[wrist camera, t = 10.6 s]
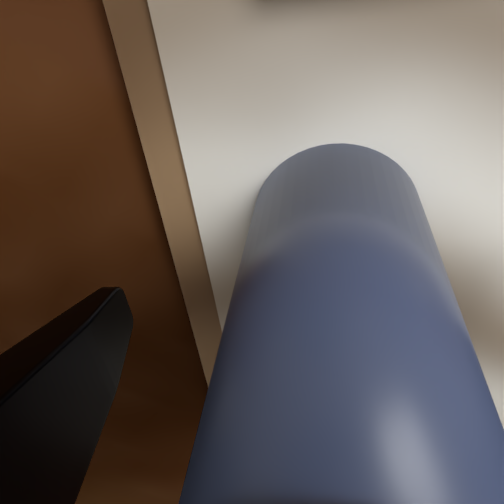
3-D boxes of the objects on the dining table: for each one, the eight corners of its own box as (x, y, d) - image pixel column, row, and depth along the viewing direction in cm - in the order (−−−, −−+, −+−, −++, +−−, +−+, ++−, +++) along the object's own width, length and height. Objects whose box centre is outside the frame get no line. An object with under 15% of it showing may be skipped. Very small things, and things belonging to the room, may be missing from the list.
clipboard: (632, 499, 17) (657, 546, 16) (238, 478, 20) (232, 517, 19) (1104, -285, 6) (1312, -343, 5) (89, -96, 9) (49, -101, 8)
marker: (419, 286, 12) (568, 838, 5) (260, 290, 13) (174, 770, 5) (432, 131, 10) (768, 733, 2) (238, 146, 10) (39, 639, 3)
